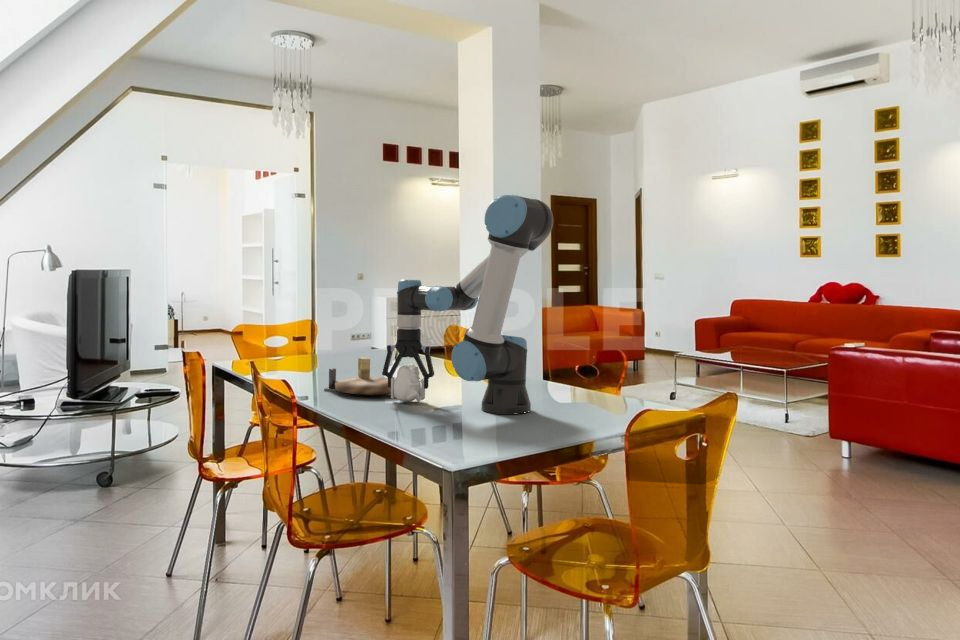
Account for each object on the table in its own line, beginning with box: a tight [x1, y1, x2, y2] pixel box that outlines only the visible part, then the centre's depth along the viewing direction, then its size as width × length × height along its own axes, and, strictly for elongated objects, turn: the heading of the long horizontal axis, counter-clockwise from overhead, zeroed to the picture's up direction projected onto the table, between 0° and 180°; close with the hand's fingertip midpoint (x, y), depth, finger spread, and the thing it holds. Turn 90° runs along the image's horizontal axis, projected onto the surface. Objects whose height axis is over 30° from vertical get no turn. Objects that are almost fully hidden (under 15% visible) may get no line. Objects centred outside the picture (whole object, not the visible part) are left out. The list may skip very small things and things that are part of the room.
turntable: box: [335, 356, 396, 395], centre depth 236 cm, size 26×27×9 cm
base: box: [323, 368, 389, 397], centre depth 237 cm, size 24×14×8 cm, turn 85°
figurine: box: [394, 363, 423, 403], centre depth 219 cm, size 10×10×12 cm
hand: (407, 398), depth 219 cm, fingers closed on figurine, 9 cm apart
